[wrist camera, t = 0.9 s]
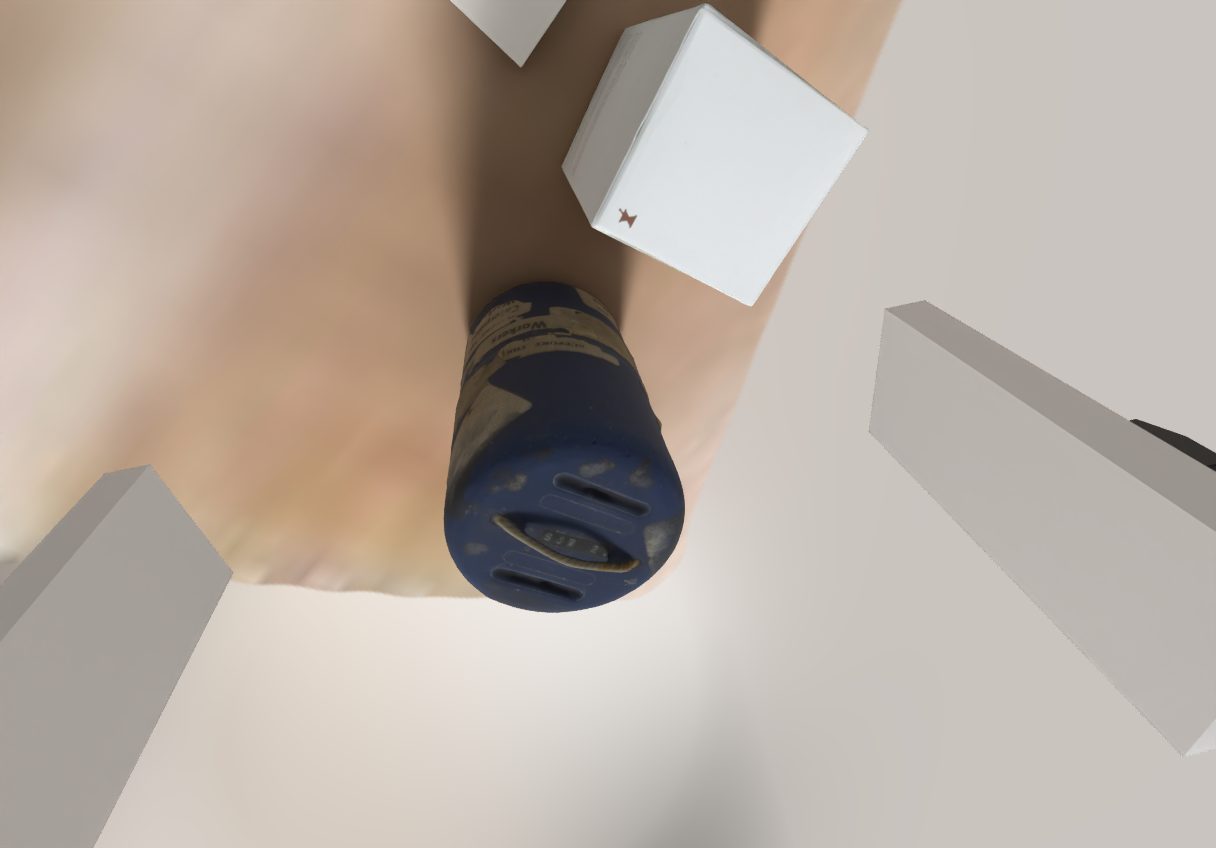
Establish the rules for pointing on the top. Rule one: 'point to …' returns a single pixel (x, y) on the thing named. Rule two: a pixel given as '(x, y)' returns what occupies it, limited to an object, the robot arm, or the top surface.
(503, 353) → the canister
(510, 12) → the door board
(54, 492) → the top surface
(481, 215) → the top surface
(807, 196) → the supplement box
